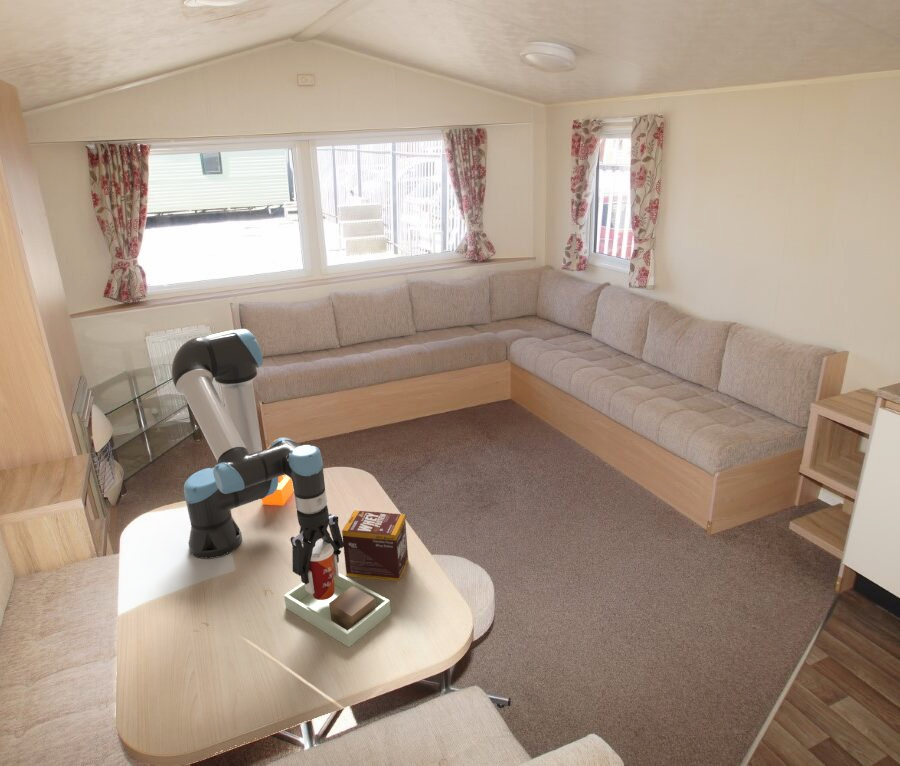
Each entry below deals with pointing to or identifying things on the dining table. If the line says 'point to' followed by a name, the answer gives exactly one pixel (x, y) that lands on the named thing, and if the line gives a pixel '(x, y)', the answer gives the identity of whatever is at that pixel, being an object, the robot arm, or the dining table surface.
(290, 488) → the orange juice
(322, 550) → the paper cup
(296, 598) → the tote
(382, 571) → the supplement box
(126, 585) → the dining table surface
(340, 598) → the walnut block
